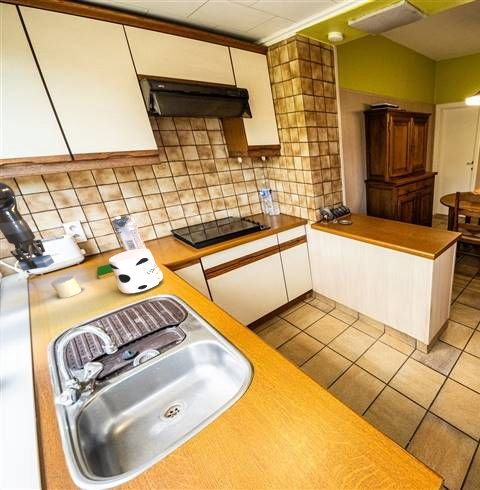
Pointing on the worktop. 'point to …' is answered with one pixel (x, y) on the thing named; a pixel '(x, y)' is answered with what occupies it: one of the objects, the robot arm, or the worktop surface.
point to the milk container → (135, 271)
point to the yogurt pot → (66, 286)
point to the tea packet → (38, 262)
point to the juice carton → (128, 232)
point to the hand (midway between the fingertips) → (38, 265)
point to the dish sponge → (104, 271)
